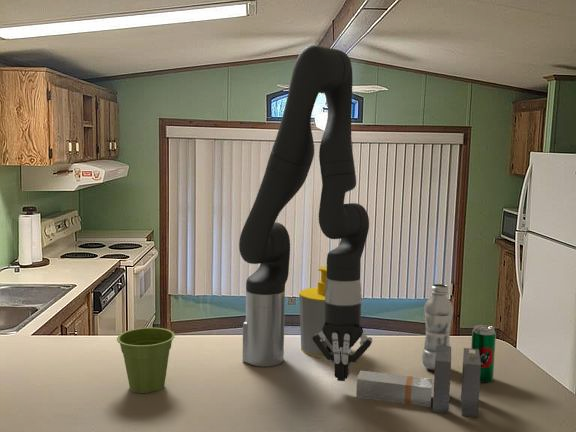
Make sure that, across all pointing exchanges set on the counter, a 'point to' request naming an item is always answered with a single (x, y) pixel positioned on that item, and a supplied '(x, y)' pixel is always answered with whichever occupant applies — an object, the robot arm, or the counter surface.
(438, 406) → the collar
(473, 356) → the collar
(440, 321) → the plastic bottle
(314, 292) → the soap bottle
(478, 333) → the soda can
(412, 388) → the pale grey rectangular bar
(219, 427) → the counter surface
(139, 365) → the plant pot
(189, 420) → the counter surface
